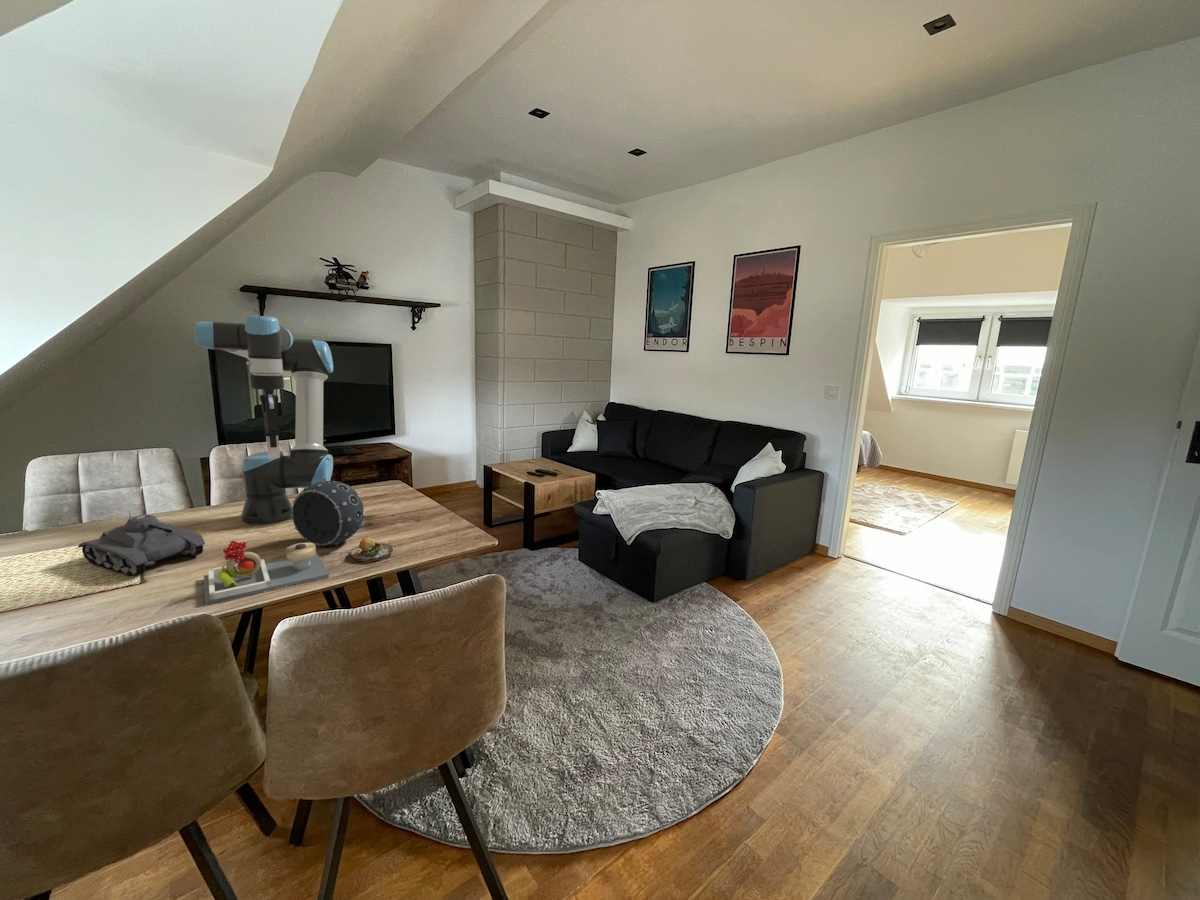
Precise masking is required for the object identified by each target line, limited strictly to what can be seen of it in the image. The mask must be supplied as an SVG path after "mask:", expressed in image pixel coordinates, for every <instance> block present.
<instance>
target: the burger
mask: <svg viewBox="0 0 1200 900" xmlns="http://www.w3.org/2000/svg"><path fill="white" fill-rule="evenodd" d="M392 552H393V547H392V545H390V544H389V543H388V544H387V543H383V542H382V543H381V542H380V543H378V542H376V541H375V539H374V538H372V537H367V536H366V537H364V536H362V539H361V540H360V541H359V544H358V546H355V547H354V548H353V549H351V550H350V552H349V555H348V556H349V560H350V561H351V562H352V563H355V564H365V565H366V564H373V563H378V562H382V561H385V560H387V559H389V558H391V556H392Z"/></svg>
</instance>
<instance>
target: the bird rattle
mask: <svg viewBox="0 0 1200 900" xmlns="http://www.w3.org/2000/svg"><path fill="white" fill-rule="evenodd" d="M229 542H230V543H229V544H228V546H227V548H224V549H222V553H223V554H224V559H225V560H227V561H228V562H227V563H226V565H222V566H221V567H222V571H221V572H220V573H219V574H218V579H220V580H223V582H224V586H226V587H228V586H229V585H231V583H232V584H234V585H235V586H236V585H237V583H236V582H235V581H234V580H233V579H232V578H231V577H234V578H253V576H254V574H255V573H256V572H257V571H258V569H259V568H260V565H261V560H260V559H261V557H260V556H259V555H258V554H257V553H255V552H252V551H246V548H247V546H248V543H247V542H244V541H241V542H238V541H235V540H231V541H229ZM235 565H238V566H237V568H238V570H239V571H240V572H238V571H237V570H236V568H235V567H234V566H235ZM224 566H226V569H225V568H224Z"/></svg>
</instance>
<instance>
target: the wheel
mask: <svg viewBox="0 0 1200 900" xmlns="http://www.w3.org/2000/svg"><path fill="white" fill-rule="evenodd" d="M316 554H317V545H316V544H314V543H311V542H299V543H294V544H291V545H289V546H287V547H285V557H286V558H285V560H288V561H293V562H297V561H304V560H308V559H311V558H313V557H314V556H316Z"/></svg>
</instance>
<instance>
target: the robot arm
mask: <svg viewBox="0 0 1200 900" xmlns="http://www.w3.org/2000/svg"><path fill="white" fill-rule="evenodd" d="M193 335H194V340H195V343H196V344H197V346H198V347H199V348H201V349H207V350H208V349H209V350H220V351H224V352H228V353H231V354H234V355H236V356H239V357H243V358H245V359H247V360H248V361H246V363H245V365H246V366H249V373H252V374H250V376H249V379H250V387H251V388H252V389H254V390H261V392H262V394H259V395H258V396H259V401H260V403H261V405H260V406H261V410H262V414H263V422H264V424H263V425H264V432H265V433H263V436H264V437H265V439H266V448H267V450H266V451H263V452H258V453H257V452H256V453H253V454H250V455H248V456H246V457H245V458H243V460H242V473H243V481H244V491H245V501H244V503H243V504H244V505H243V507H242V511H241V522H243V523H245V524H249V525H265V524H272V523H279V522H281V521H284V520H288V519H289V518H291V517H292V516H291V514H292V507H293V504H291V501H290V499H289V496H288V495H287V491H286V489H304V488H305V487H308V486H310V485H313V484H315V483H318V482H322V481H331V478H332V475H333V471H334V457H333V455H332V454H329V452H328V451H329V450H328V449H327V448H326V447H325V446H324V382H325V381H326V380H327V379H328V378H329V374H331V373H333V372H334V361H333V355H332V351H331V348H330V347H329V344H328V343H327V342H326V341H325V340H317V339H301V338H294V336H293V334H292V333H291V332H290V330H289V329H287V328H286V327H283V326H281V325H279V319H278V318H277V317H275V316H274V317H273V316H263V315H247V316H246V317H245V320H244V323H243V322H241V323H238V322H237V323H235V322H223V321H221V322H220V321H212V320H210V321H208V320H207V321H205V320H204V321H198V322H196V324H195V325H194V327H193ZM284 372H290V375H291V377H292V378H293V379H294V380H295V435H294V436H295V445H294V446H293V447H292V448H291V449H290V451H289V453H290V454H289V455H284V453H283V451H281V450H280V442H279V441H280V439H279V435H280V434H281V433H280V431H279V416H278V411H279V406H278V405H279V403H278V402H279V396H278V395H277V394H275V390H281V389H284V388H285V382H284V376H283V375H282V374H283V373H284Z"/></svg>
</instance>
